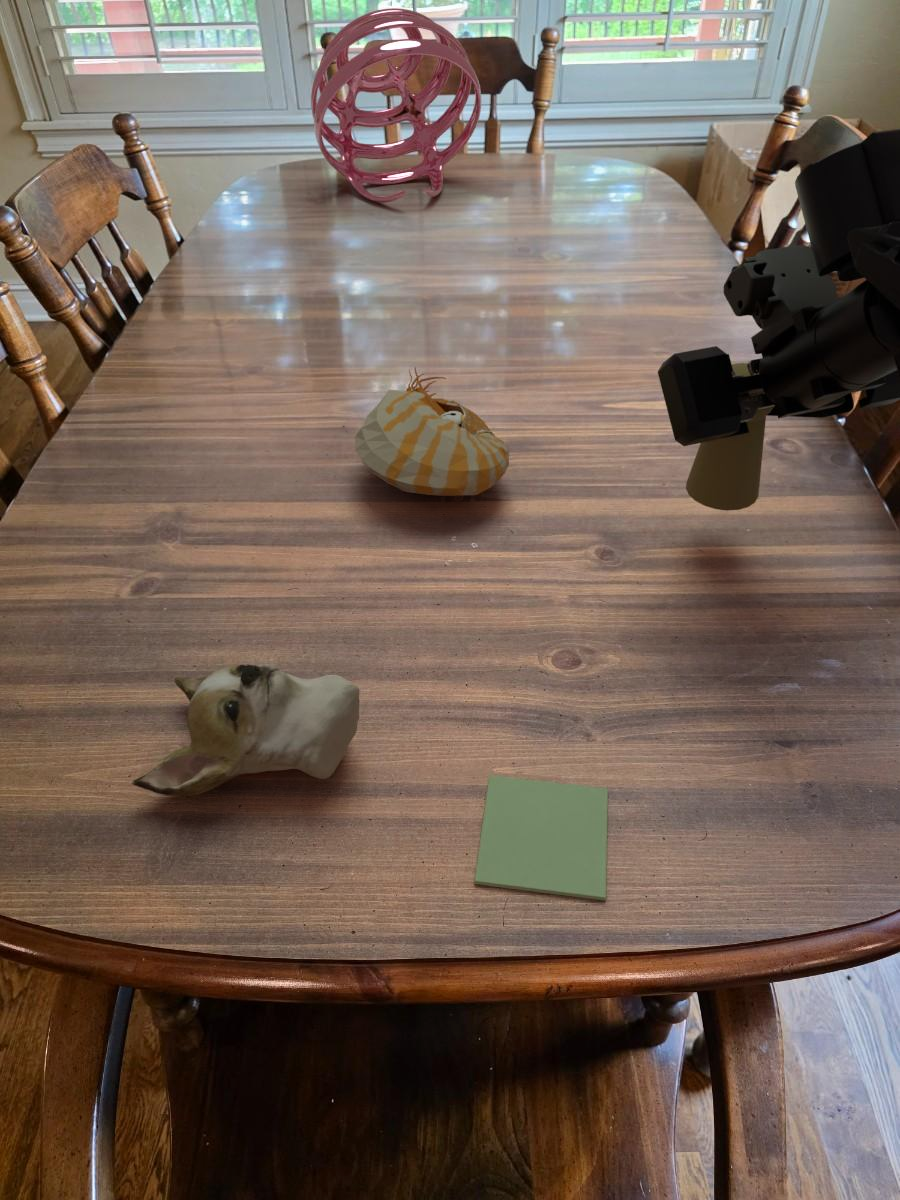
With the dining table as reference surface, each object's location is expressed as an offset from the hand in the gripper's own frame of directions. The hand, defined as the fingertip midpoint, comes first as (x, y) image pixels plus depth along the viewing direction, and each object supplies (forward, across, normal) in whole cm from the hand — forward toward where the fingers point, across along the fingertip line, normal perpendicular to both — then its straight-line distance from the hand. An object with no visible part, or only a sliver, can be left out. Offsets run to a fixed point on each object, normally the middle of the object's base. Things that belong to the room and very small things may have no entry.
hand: (727, 413), depth 71 cm
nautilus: (+22, +19, -5) cm, 30 cm away
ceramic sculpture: (+1, +42, +17) cm, 45 cm away
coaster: (-8, +26, +26) cm, 38 cm away
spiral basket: (+82, -1, -66) cm, 105 cm away
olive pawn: (+4, 0, +6) cm, 7 cm away
